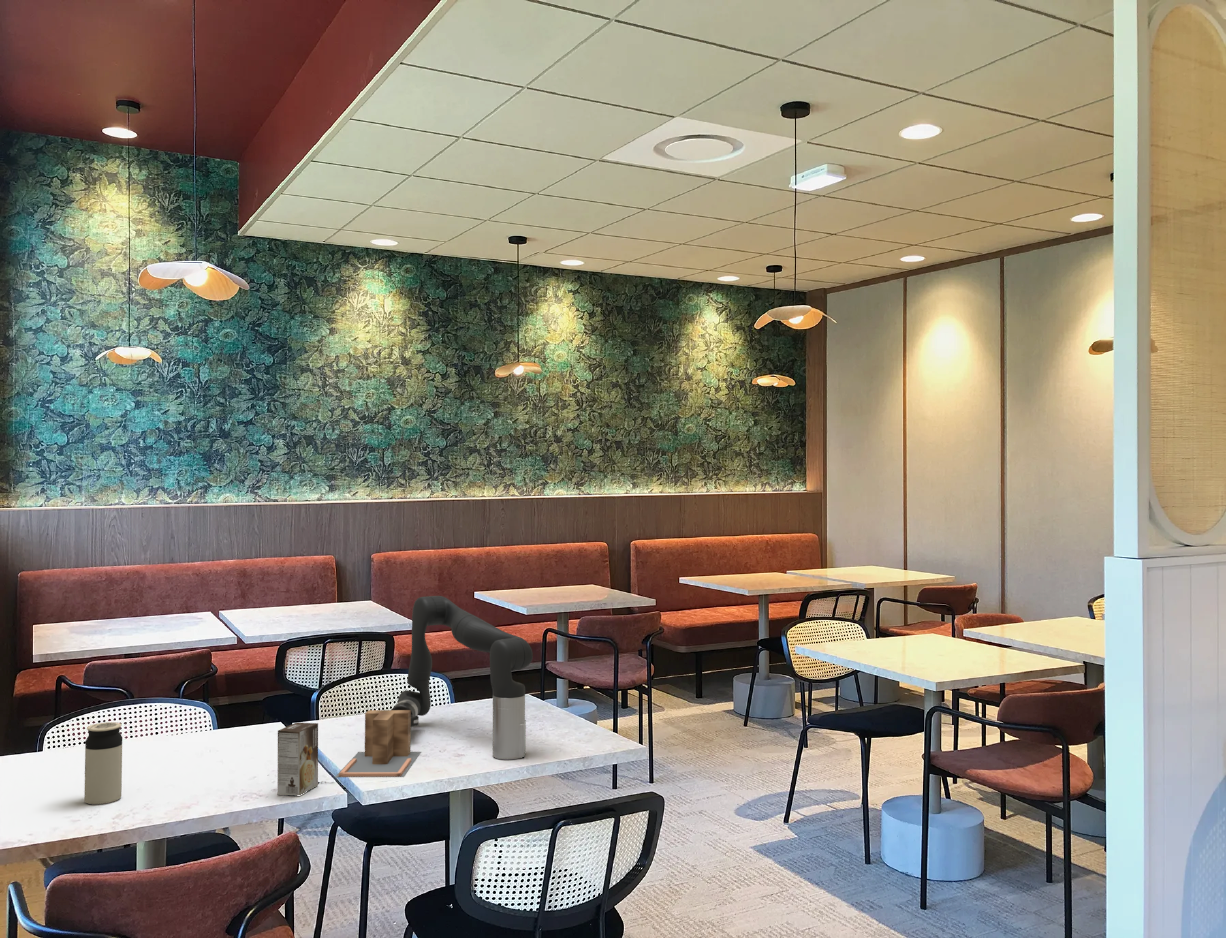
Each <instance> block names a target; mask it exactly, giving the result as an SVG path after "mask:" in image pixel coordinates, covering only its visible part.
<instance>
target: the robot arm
mask: <svg viewBox="0 0 1226 938" xmlns="http://www.w3.org/2000/svg"><path fill="white" fill-rule="evenodd" d="M428 626H445V627H449V628H450V629H451V635H452V636H453V639H455V640H456V641H457V642H458V643H460V644H461V645H462V646H464V647H467V648H468V649H470V650H475V651H477V652H482V653H483V652H484V653H489V669H490V670H489V674H490V686H491V690H492V757H493V758H494V757H495V758H494V759H498V760H516V759H523V758H522V757H524V758H525V756H526V753H527V751H526V750H527V748H526V747H527V746H526V739H527V738H526V737H527V735H526V732H527V730H526V729H527V725H526V722H527V720H526V686H525V684H524V683H521V682H519V681H515V680H513V675H512V672H515V671H521V670H524V669H526V668H527V667H529V666H530V664H531V663H532V661H533V657H534V656H533V655H534V654H533V649H532V647H531V646H530V644H529V642H528V641H527V640H526V639H524V638H522V637H521V636H517V635H514V634H511V633H508V632H506V631H504V630H501V629H500V628H498V627H496V626H494V625H493V624H490V623H489V622H487V621H485V620H483V619H482V618H480V617H478V616H476V615H474V614H472V613H470V612H468V611H466V610H464V609H463V608H461V607H459V606H458V605H456V603H454V602H453V601H451V600H450V599H449V598H447V597H445V596H442V595H431V596H430V595H428V596H420V597H418V598H417V599H416V600H415V601H414V603H413V607H412V616H411V653H410V660H409V667H408V673H407V678H406V679H407V680H406V681H407V684H408V685H409V686H410V687H412V688H414V689H416V690H417V691H413V690H402V692H400V693H399V695H398V699H397V703H396V704H395V705H394V706H393V707H392V708H391V709H390V710H411V728H412V727H415V726H419V724H420V723H419V722H420V720H419V716H420V717H424V716H426V715H427V714H428V713H429V711H430V709H431V705H432V703H431V702H432V701H431V700H432V699H431V693H430V679H431V673H432V669H433V658H432V654H431V652H430V649H429V646H428V644H427V640H426V630H427V627H428ZM525 752H526V753H525Z"/></svg>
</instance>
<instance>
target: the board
mask: <svg viewBox="0 0 1226 938" xmlns="http://www.w3.org/2000/svg"><path fill="white" fill-rule="evenodd" d="M421 753H422V751H410V754H409V755H408V756H393V757H392V759H391V760H390V761H389V763H388V764H372V756H365V751H357V753H356V754H355V755H354V756H353V757H352V758H351V759H350V760H349V761H348V762H347V763H346V764H345V765H344V767H343V768H342V769H340V771H339V772H338V773H336V775H335V777H334V778H405V777H406V775H407V774H408V772H409V771H410V769H411V768H412V766H413V765H414V763H415V762H416V761H417V759H418V758H419V757H420V755H421Z"/></svg>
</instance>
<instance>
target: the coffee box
mask: <svg viewBox="0 0 1226 938" xmlns="http://www.w3.org/2000/svg"><path fill="white" fill-rule="evenodd" d="M317 785H318V786H319V723H318V722H317V723H316V722H295V723H292V724H290V725H287V726H285V727H283V728H281V729H279V730H277V789H276V791H277V796H284V795H301V794H303V793H305V792H306V791H308V790H310V789H311V790H312V788H313V789H314V787H315V788H316V787H318V786H317ZM311 790H310V791H311ZM308 792H309V791H308ZM306 793H307V792H306ZM306 793H305V794H306ZM303 795H304V794H303ZM301 796H302V795H301Z"/></svg>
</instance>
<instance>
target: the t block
mask: <svg viewBox="0 0 1226 938" xmlns="http://www.w3.org/2000/svg"><path fill="white" fill-rule="evenodd" d="M411 728H412V727H411V710H391V709H387V710H385V709H383V710H382V709H381V710H380V709H379V710H378V709H377V710H376V709H375V710H374V709H371V710H369V709H368V710H367V711H366V712H365V713H364V752H365V756H372V764H388V763H389V761H390V760H391V759H392V757H393V756H408V755H409V754H410V752H411V741H412V740H411V739H412V738H411Z"/></svg>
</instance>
